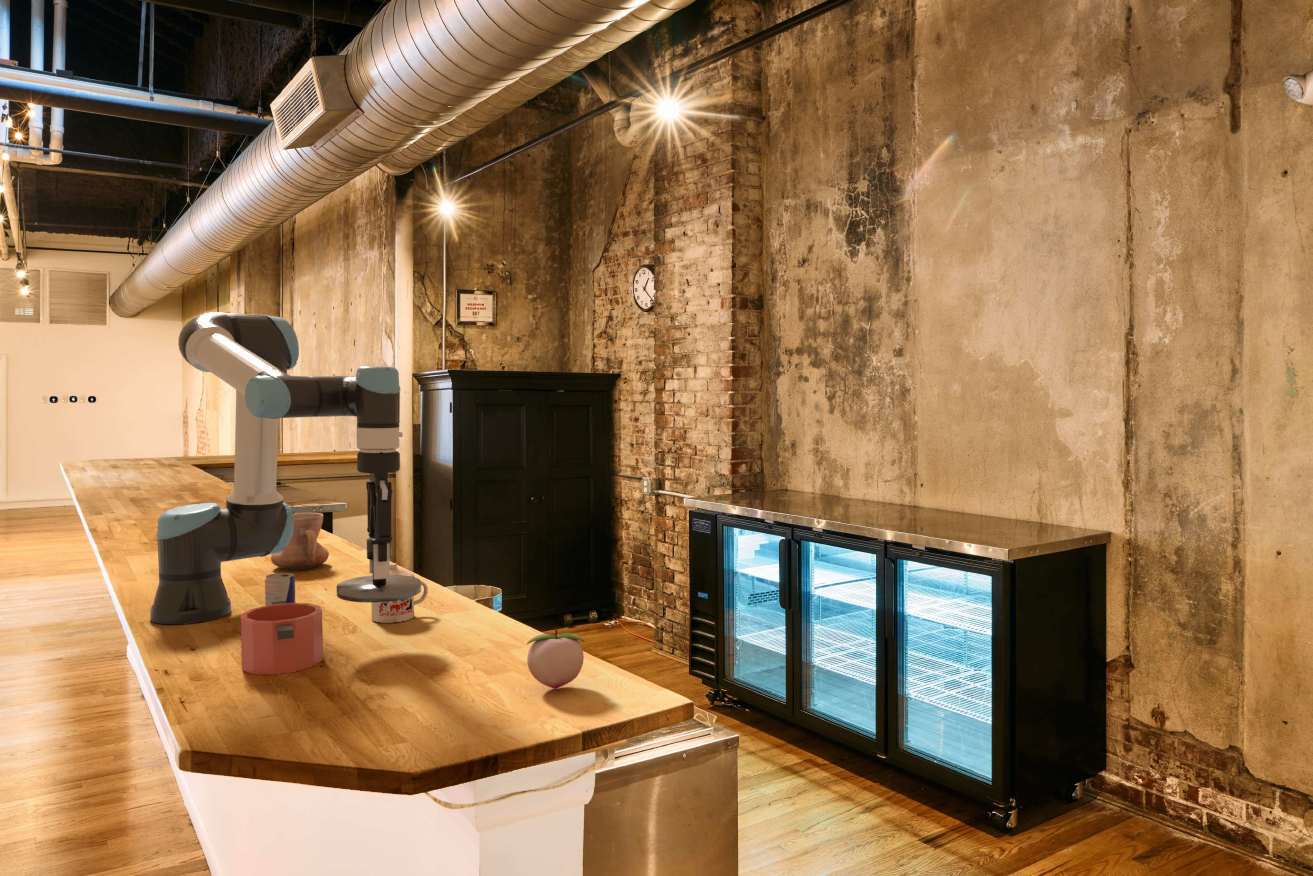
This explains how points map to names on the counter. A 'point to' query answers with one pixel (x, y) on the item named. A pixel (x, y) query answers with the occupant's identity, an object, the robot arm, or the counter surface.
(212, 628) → the counter surface
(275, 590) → the energy drink
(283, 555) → the ceramic jug
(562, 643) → the decorative fruit
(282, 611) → the pot
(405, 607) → the teacup with lid
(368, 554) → the lid
